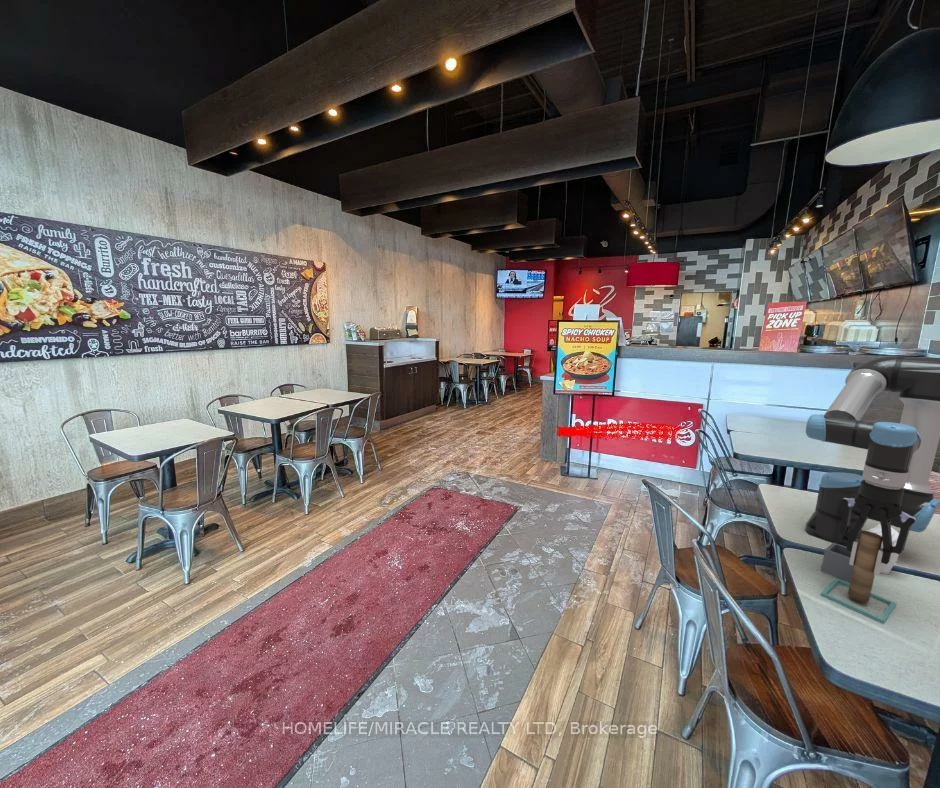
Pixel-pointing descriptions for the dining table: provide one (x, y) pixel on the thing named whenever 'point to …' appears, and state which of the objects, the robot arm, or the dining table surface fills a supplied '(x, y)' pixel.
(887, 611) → the tray
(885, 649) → the dining table surface
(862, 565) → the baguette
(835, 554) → the open box
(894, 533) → the soft serve ice cream cone
